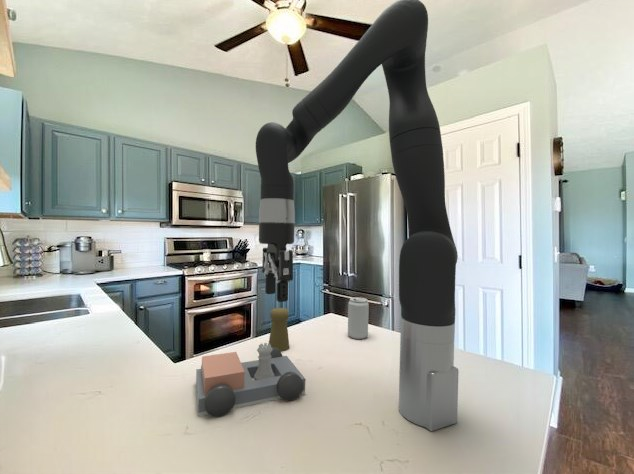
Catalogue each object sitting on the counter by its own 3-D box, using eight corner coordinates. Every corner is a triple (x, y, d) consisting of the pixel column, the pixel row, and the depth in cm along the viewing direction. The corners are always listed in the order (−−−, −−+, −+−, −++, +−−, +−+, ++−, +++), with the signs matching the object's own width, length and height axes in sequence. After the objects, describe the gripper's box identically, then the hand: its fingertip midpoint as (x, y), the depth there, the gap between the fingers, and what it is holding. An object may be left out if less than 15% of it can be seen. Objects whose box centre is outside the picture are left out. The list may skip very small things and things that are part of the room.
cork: (278, 353, 79) (279, 312, 79) (263, 347, 82) (264, 308, 82) (293, 347, 84) (294, 308, 83) (278, 341, 87) (279, 304, 87)
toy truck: (308, 397, 58) (308, 367, 58) (198, 421, 50) (199, 386, 50) (284, 365, 72) (284, 340, 72) (195, 380, 64) (196, 352, 64)
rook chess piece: (277, 378, 64) (277, 341, 64) (271, 389, 59) (272, 350, 59) (257, 377, 64) (257, 340, 64) (250, 387, 60) (251, 348, 60)
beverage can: (343, 334, 95) (344, 297, 95) (360, 332, 98) (361, 296, 98) (354, 341, 89) (355, 301, 89) (371, 338, 92) (372, 300, 92)
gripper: (305, 220, 58) (304, 303, 58) (283, 223, 71) (282, 290, 71) (268, 219, 55) (267, 306, 55) (252, 222, 68) (251, 292, 68)
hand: (275, 297), depth 63 cm, fingers open, 8 cm apart
